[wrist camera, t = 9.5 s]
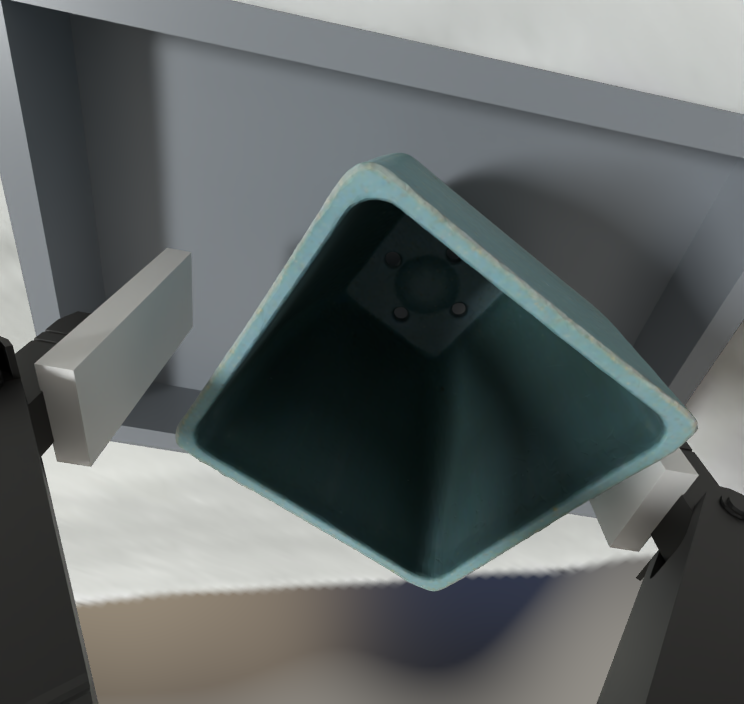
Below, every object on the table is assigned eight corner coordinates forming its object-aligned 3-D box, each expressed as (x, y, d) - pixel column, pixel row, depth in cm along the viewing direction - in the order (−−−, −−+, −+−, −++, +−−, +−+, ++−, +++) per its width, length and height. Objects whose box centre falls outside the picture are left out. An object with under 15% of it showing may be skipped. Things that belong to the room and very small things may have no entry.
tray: (768, 122, 16) (866, 141, 13) (577, 455, 25) (606, 519, 22) (48, -38, 15) (-53, -63, 11) (106, 377, 23) (57, 432, 20)
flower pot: (605, 266, 17) (716, 435, 9) (443, 409, 22) (432, 601, 14) (410, 100, 15) (359, 147, 8) (278, 294, 20) (165, 443, 12)
